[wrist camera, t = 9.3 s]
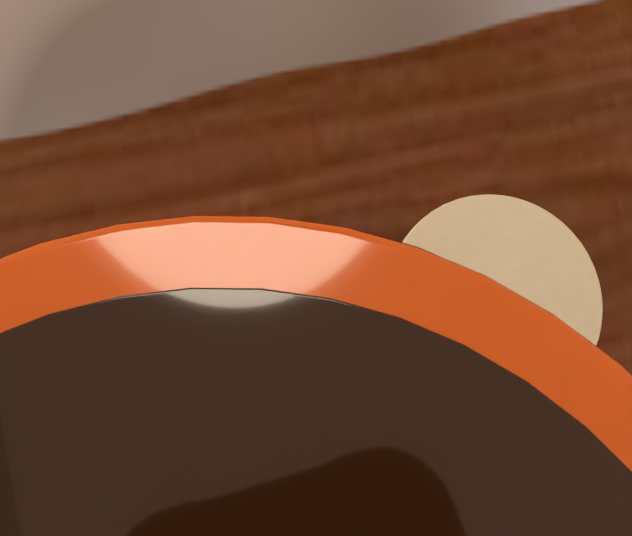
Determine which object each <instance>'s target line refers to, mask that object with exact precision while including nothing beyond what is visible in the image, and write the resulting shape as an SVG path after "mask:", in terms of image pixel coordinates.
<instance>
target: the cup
mask: <svg viewBox="0 0 632 536" xmlns="http://www.w3.org/2000/svg"><path fill="white" fill-rule="evenodd" d="M0 536H632V376H631V375H630V374H629V373H628V372H627V371H626V370H625V369H624V368H623V367H622V366H621V365H620V364H619V363H618V362H617V361H616V360H614V359H613V358H612V357H610V356H609V355H608V354H606V353H605V352H604V351H602V350H601V349H600V348H598V347H597V346H596V345H594V344H593V343H592V342H590V341H589V340H588V339H586V338H585V337H584V336H582V335H581V334H580V333H578V332H577V331H576V330H574V329H573V328H572V327H570V326H569V325H568V324H566V323H565V322H564V321H562V320H561V319H560V318H558V317H557V316H556V315H554V314H553V313H551V312H549V311H547V310H546V309H544V308H542V307H540V306H539V305H537V304H535V303H534V302H532V301H530V300H528V299H527V298H525V297H523V296H521V295H520V294H518V293H516V292H514V291H513V290H511V289H509V288H507V287H506V286H504V285H502V284H500V283H499V282H497V281H495V280H493V279H492V278H490V277H488V276H486V275H484V274H482V273H479V272H477V271H474V270H472V269H470V268H467V267H465V266H462V265H460V264H458V263H455V262H453V261H450V260H448V259H446V258H443V257H441V256H438V255H436V254H434V253H431V252H429V251H426V250H424V249H422V248H419V247H417V246H413V245H410V244H406V243H402V242H399V241H395V240H391V239H388V238H384V237H381V236H377V235H373V234H370V233H366V232H362V231H359V230H355V229H351V228H348V227H344V226H337V225H330V224H323V223H316V222H309V221H302V220H294V219H287V218H280V217H273V216H226V215H192V216H183V217H174V218H165V219H156V220H148V221H139V222H130V223H121V224H116V225H112V226H108V227H104V228H100V229H95V230H91V231H87V232H83V233H79V234H75V235H71V236H67V237H62V238H58V239H54V240H50V241H46V242H42V243H40V244H37V245H34V246H32V247H29V248H27V249H24V250H21V251H19V252H16V253H13V254H11V255H8V256H5V257H3V258H0Z"/></svg>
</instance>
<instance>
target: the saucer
mask: <svg viewBox="0 0 632 536" xmlns="http://www.w3.org/2000/svg"><path fill="white" fill-rule="evenodd" d="M401 242H402V243H406V244H410V245H413V246H417V247H419V248H422V249H424V250H426V251H429V252H431V253H434V254H436V255H438V256H441V257H443V258H446V259H448V260H450V261H453V262H455V263H458V264H460V265H462V266H465V267H467V268H470V269H472V270H474V271H477V272H479V273H482V274H484V275H486V276H488V277H490V278H492V279H493V280H495V281H497V282H499V283H500V284H502V285H504V286H506V287H507V288H509V289H511V290H513V291H514V292H516V293H518V294H520V295H521V296H523V297H525V298H527V299H528V300H530V301H532V302H534V303H535V304H537V305H539V306H540V307H542V308H544V309H546V310H547V311H549V312H551V313H553V314H554V315H556V316H557V317H558V318H560V319H561V320H562V321H564V322H565V323H566V324H568V325H569V326H570V327H572V328H573V329H574V330H576V331H577V332H578V333H580V334H581V335H582V336H584V337H585V338H586V339H588V340H589V341H590V342H592V343H593V344H594V345H597V342H598V339H599V335H600V330H601V325H602V312H603V306H602V294H601V289H600V283H599V279H598V276H597V273H596V270H595V267H594V265H593V263H592V261H591V259H590V257H589V255H588V253H587V251H586V250H585V248H584V247H583V245H582V243H581V242H580V241H579V240H578V238H577V237H576V236H575V235H574V233H573V232H572V231H571V230H570V229H569V228H568V227H567V226H566V225H565V224H564V223H563V222H561V221H560V220H559V219H557V218H556V217H555V216H553V215H552V214H551V213H549V212H547V211H546V210H544V209H542V208H541V207H539V206H537V205H534V204H532V203H530V202H527V201H525V200H521V199H518V198H514V197H510V196H503V195H488V194H484V195H474V196H468V197H464V198H460V199H456V200H454V201H451V202H449V203H446V204H444V205H442V206H440V207H438V208H437V209H435V210H433V211H432V212H430V213H429V214H428V215H426V216H425V217H424V218H422V219H421V220H420V221H419V222H418V223H417V224H416V225H415V226H414V227H413V228H412V229H411V230H410V231H409V232H408V234H407V235H406V236H405V237H404V239H403V240H402V241H401Z"/></svg>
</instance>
